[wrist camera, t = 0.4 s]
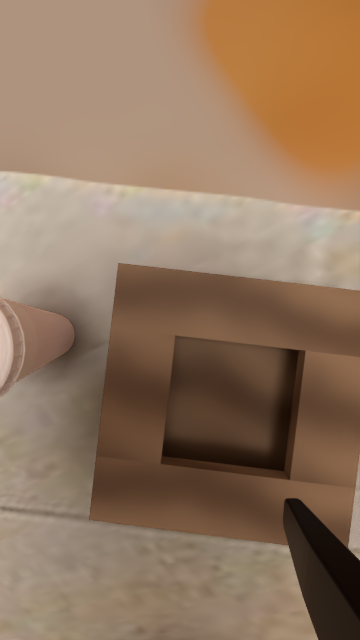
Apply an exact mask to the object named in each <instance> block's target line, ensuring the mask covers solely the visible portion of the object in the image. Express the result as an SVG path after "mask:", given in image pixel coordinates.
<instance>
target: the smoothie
mask: <svg viewBox="0 0 360 640" xmlns="http://www.w3.org/2000/svg"><path fill="white" fill-rule="evenodd" d="M74 338H75V333H74V328H73V326H72V324H71V322H70V321H69V320H68V319H67V318H66V317H64V316H62V315H60V314H56V313H52V312H49V311H45V310H41V309H38V308H34V307H31V306H27V305H23V304H20V303H16V302H13V301H9V300H6V299H3V298H1V297H0V398H1V397H2V396H3V395H5V394H6V393H7V392H8V391H9V389H10V388H11V387H12V386H13V385H14V383H16V382H17V381H19V380H20V379H22V378H24V377H25V376H27V375H29V374H30V373H32V372H34V371H36V370H37V369H39V368H41V367H42V366H44V365H46V364H47V363H49V362H51V361H52V360H54V359H56V358H57V357H59V356H61V355H63V354H64V353H66V352H67V351H68V350H69V349H70V348H71V346H72V344H73V342H74Z"/></svg>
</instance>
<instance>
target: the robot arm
mask: <svg viewBox="0 0 360 640" xmlns="http://www.w3.org/2000/svg"><path fill="white" fill-rule="evenodd" d="M283 527H284V531H285V534H286V538H287V542H288V545H289V549H290V552H291V556H292V560H293V563H294V567H295V570H296V574H297V578H298V581H299V585H300V588H301V591H302V595H303V598H304V601H305V604H306V607H307V610H308V612H309V615H310V618H311V621H312V623H313V626H314V629H315V632H316V634H317V637H318V640H360V560H359V559H358V558H357V557H356V556H355V555H354V554H353V553H352V552H351V551H350V550H349V549H348V548H347V547H346V546H345V545H344V544H343V543H342V542H341V541H340V540H339V539H338V538H337V537H336V536H335V535H334V534H333V533H332V532H331V531H330V530H329V529H328V527H327V526H326V525H325V524H324V523H323V522H322V521H321V520H320V519H319V518H318V517H317V516H316V515H315V514H314V513H313V512H312V511H311V510H310V509H309V508H308V507H307V506H306V505H305V504H304V503H303V502H302V501H301V500H300V499H298V498H287V499H285V501H284V509H283Z"/></svg>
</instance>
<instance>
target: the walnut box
mask: <svg viewBox="0 0 360 640" xmlns="http://www.w3.org/2000/svg"><path fill="white" fill-rule="evenodd" d="M359 455H360V291H357V290H348V289H340V288H331V287H322V286H314V285H305V284H296V283H287V282H279V281H270V280H261V279H253V278H244V277H235V276H226V275H218V274H209V273H200V272H192V271H183V270H174V269H165V268H157V267H148V266H139V265H130V264H122V263H118V271H117V279H116V288H115V297H114V306H113V314H112V323H111V332H110V341H109V350H108V358H107V367H106V376H105V385H104V393H103V402H102V411H101V420H100V428H99V437H98V446H97V455H96V463H95V472H94V481H93V490H92V498H91V507H90V516H89V520H95V521H103V522H110V523H118V524H126V525H134V526H142V527H150V528H157V529H165V530H173V531H181V532H189V533H197V534H205V535H212V536H220V537H228V538H236V539H244V540H252V541H259V542H267V543H275V544H283V545H288V542H287V538H286V534H285V531H284V527H283V509H284V501H285V499H287V498H298V499H300V500H301V501H302V502H303V503H304V504H305V505H306V506H307V507H308V508H309V509H310V510H311V511H312V512H313V513H314V514H315V515H316V516H317V517H318V518H319V519H320V520H321V521H322V522H323V523H324V524H325V525H326V526H327V527H328V529H329V530H330V531H331V532H332V533H333V534H334V535H335V536H336V537H337V538H338V539H339V540H340V541H341V542H342V543H343V544H344V545H345V546H346V547H347V548H348V543H349V535H350V527H351V519H352V511H353V503H354V495H355V487H356V479H357V471H358V463H359Z"/></svg>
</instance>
